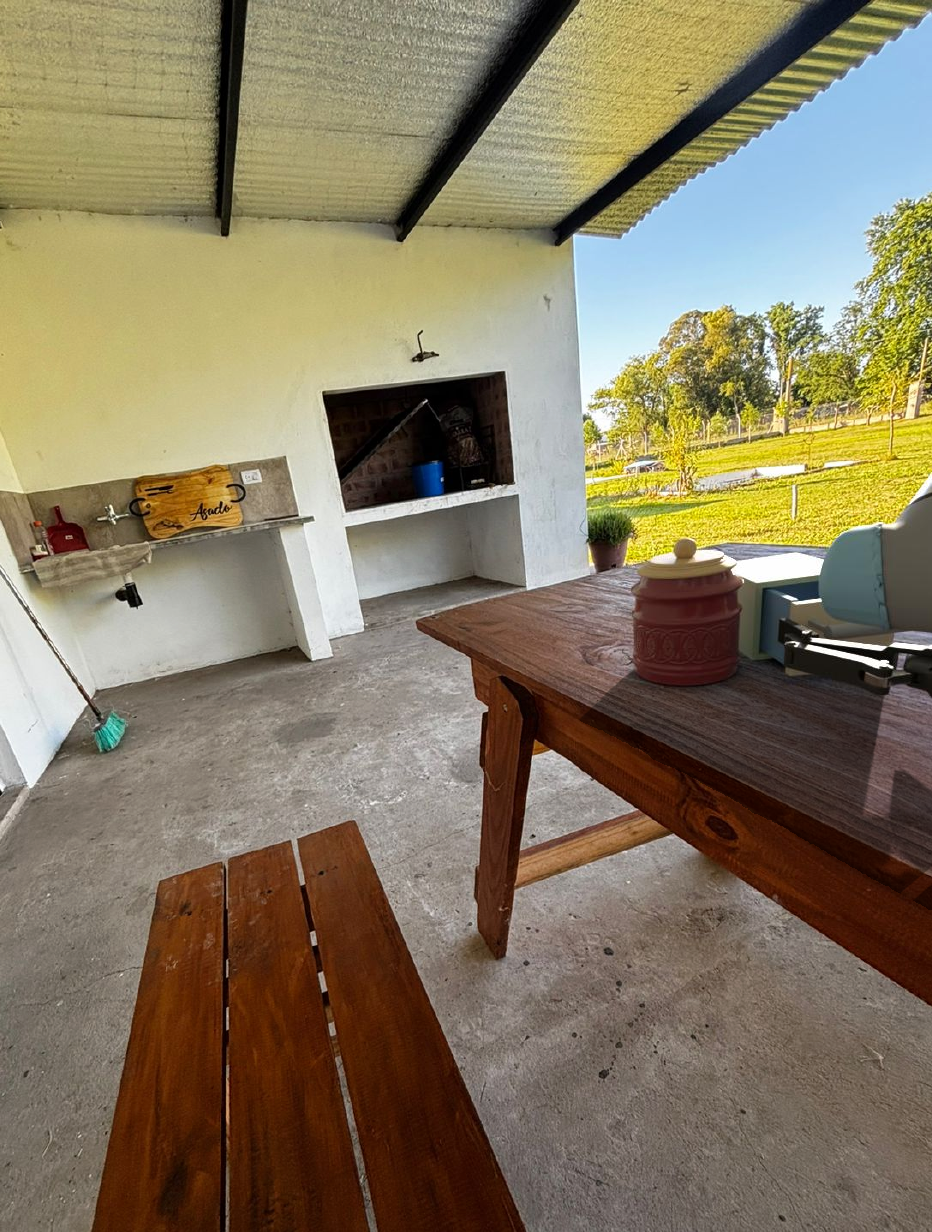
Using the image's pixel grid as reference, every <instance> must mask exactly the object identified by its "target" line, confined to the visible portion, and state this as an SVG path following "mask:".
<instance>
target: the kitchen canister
mask: <svg viewBox="0 0 932 1232" xmlns="http://www.w3.org/2000/svg"><path fill="white" fill-rule="evenodd" d="M736 561H737V560H735V558H731V557H729V556H727V555H725V553H724V552H722V551H719V550H711V549H698V547H697V543H696V541H695V540H694V539H693V538H689V537H684V538H681V539H678V540H677V541H676V542H675V543H674V546H673V552H669V553H668V552H667V553H664V554H659V555H656V556H653V557H651V558H650V559H648V561H647V562H646V563H644V564H643V565H641V566H640V567H638V568H637V570H636V574H637V575H638V576H639V577H640V578H639V580H638V581H636V582H635V583H633V585H632V586H631V588H630V593H631V594H632V595H633V596H634V597H635V600H634V608H633V609H632V610H631V613H630V615H631V617H632V633H633V634H632V635H633V637H632V638H633V652H632V664H633V666H634V671H635V673H636V675H638V676H639V677H641V678H642V679H644V680H646V681H649V682H652V683H656V684H662V685H668V686H680V687H681V686H682V687H683V686H685V687H686V686H689V687H690V686H702V685H708V684H715V683H719V682H722V681H725V680H727V679H728V678H730V677H733V675H735V674H736V672H737V671H738V665H739V663H740V661H741V657H740V656H741V652H740V650H739V632H740V613H741V611H742V605H741V604H740V603H739V602H738V589H739V588H740V587H741V586H742V585H743V583H744V581H743V579H742V578H741V577H740V576H738V575H736V574H734V573H733V571H732V568H734V567H735V566H736Z"/></svg>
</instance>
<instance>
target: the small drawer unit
mask: <svg viewBox="0 0 932 1232" xmlns="http://www.w3.org/2000/svg"><path fill="white" fill-rule="evenodd" d="M823 560H824V559H822V558H818V557H815V556H811V555H807V554H803V553H800V552H789V553H784V554H783V553H782V554H777V555H769V556H762V557H756V558H755V557H754V558H748V559H741V560H735V561H736V566H735V567H734V568H732V571H733V573H734V574H736V575H738V576H740V577H741V578H742V579H743V581H744V583H743V585H742V586H741V587H740V588H739V589H738V602H739V603H740V604H741V605H742V611H741V613H740V632H739V650H740V654H743V655H744V656H745V657H747V659H749V660H751V661H760V660H770V659H774V658H773V657H772V656H770V655H769V654H767V653H766V652H764V651H763V650H761V649H760V648H759V641H760V624H761V608H762V591H763V589H762V588H768V587H776V586H783V585H791V584H798V583H806V582H813V581H819V575H820V570H821V566H822V563H823Z"/></svg>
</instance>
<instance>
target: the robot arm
mask: <svg viewBox="0 0 932 1232" xmlns="http://www.w3.org/2000/svg"><path fill="white" fill-rule="evenodd" d="M822 560H823V563H822V566H821V570H820V575H819V585H818V588H819V596H820V598H821V601H822V602H821V605H822V607H823V609H824V610H825V612H826V613H827V614H828V615H829V616H831V617H832V618H834V619H836V620H840V621H845V622H850V623H855V624H861V625H866V626H872V627H878V628H883V629H884V630H892V629H898V630H908V631H907V632H917V633H928V634H932V473H930V474H929V476H928V478H927V479H926V480H925V482H924V483H923V484H922V486H921V487H920V488H919V490H918V491H917V493H916V494H915V496H914V497H913V498H912V499H911V501H910V502H909V504H908V505H906V506H905V507H904V510H903V511H901V513H900V514H899V516H898V517H897V518H896V519H895V521H894V522H893V523H892V524H887V523H886V524H885V523H884V522H880V521H879V522H876V523H874V524H869V525H868V524H867V525H858V526H853V527H852V528H850V529H848V530H846V531H845V530H844V531H843V532H840V534H839V535H838V536H837V537H836V538H835V539H834V540H833V541H832V543H831V544H830V545H829V547H828V549H827V551H826V553H825V556H824V558H823V559H822ZM778 642H780V643H781V644H783V645H784V648H785V651H784V664H782V666H783V667H784V668H785V669H786V668H790V669H794V670H798V671H801V672H805V673H809V674H808V675H814V676H817V677H819V678H824V679H827V680H830V681H831V680H832V681H835V682H839V683H842V684H846V685H849V686H854V687H857V688H860V689H862V690H864V691H867V692H868V693H870V694H872V695H874V696H888V695H890V693H891V687H892V686H893V687H894V686H900V685H905V686H907V687H909V688H912V689H916V690H920V691H923V692H926V693H927V694H928V695H929V697H930V698H931V699H932V644H929V645H921V644H920V645H919V644H912V643H901V642H893V643H892V644H891V645H889V646H888V647H884V646H876V645H868V644H859V643H851V642H843V641H835V640H827V639H819V634H818V633H816V632H814V631H812V630H810V629H808V628H806V627H804V626H802V625H800V624H798V623H796V622H794V621H792V620H790V619H788V618H781V619H779V631H778ZM900 654H903V655H905V659H904V663H903V667H902V669H898V662H899V657H900Z"/></svg>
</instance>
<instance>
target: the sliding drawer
mask: <svg viewBox="0 0 932 1232" xmlns="http://www.w3.org/2000/svg"><path fill="white" fill-rule="evenodd" d="M818 585H819V581H813V582H806V583H798V584H791V585H783V586H776V587H768V588H762V589H763V591H762V608H761V624H760V641H759V648H760V649H761V650H763V651H764V652H766V653H767V654H769V655H770V656H772V657H773V658H772V659H775V660H776V661H778V662H779V663H781V664H782V665H784V651H785V648H784V645H783V644H781V643H780V642H778V631H779V619H781V618H788V619H790V620H792V621H794V622H796V623H798V624H800V625H802V626H804V627H806V628H808V629H810V630H812V631H814V632H816V633H818V634H819V639H827V640H835V641H843V642H851V643H859V644H868V645H876V646H884V647H888V646H889V645H891V644H892V643H894V638H895V634H897V633H906V632H907V633H908V632H909V631H908V630H898V629H892V630H884V629H883V628H878V627H872V626H866V625H861V624H855V623H850V622H845V621H840V620H836V619H834V618H832V617H831V616H829V615H828V614H827V613H826V612H825V610H824V609H823V607H822V605H821V602H822V601H821V598H820V596H819V588H818ZM785 674H786V675H788V676H789V677H795V676H804V675H805V676H806V675H810V674H809V673H805V672H801V671H798V670H794V669H790V668H786V667H785Z"/></svg>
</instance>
